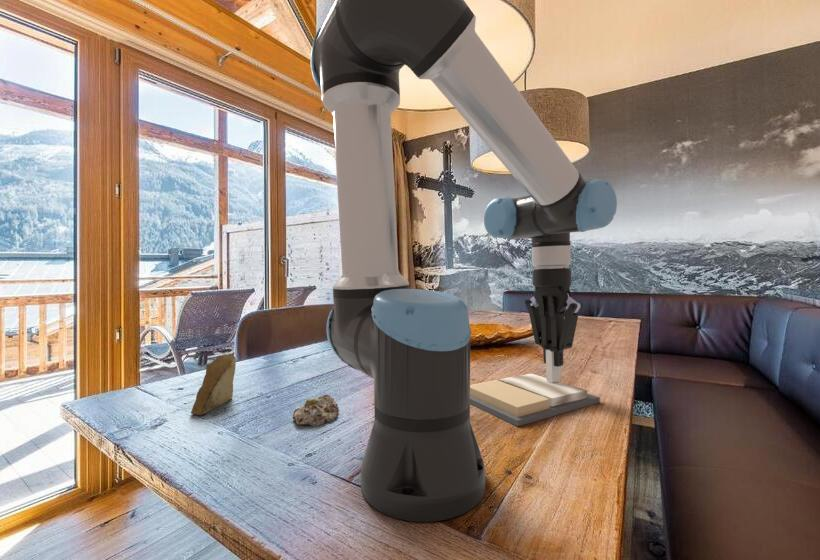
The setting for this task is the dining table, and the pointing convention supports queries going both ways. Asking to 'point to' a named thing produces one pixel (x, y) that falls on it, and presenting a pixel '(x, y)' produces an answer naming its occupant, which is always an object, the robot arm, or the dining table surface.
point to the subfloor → (519, 402)
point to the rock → (216, 385)
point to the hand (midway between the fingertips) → (553, 380)
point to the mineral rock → (316, 411)
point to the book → (547, 388)
